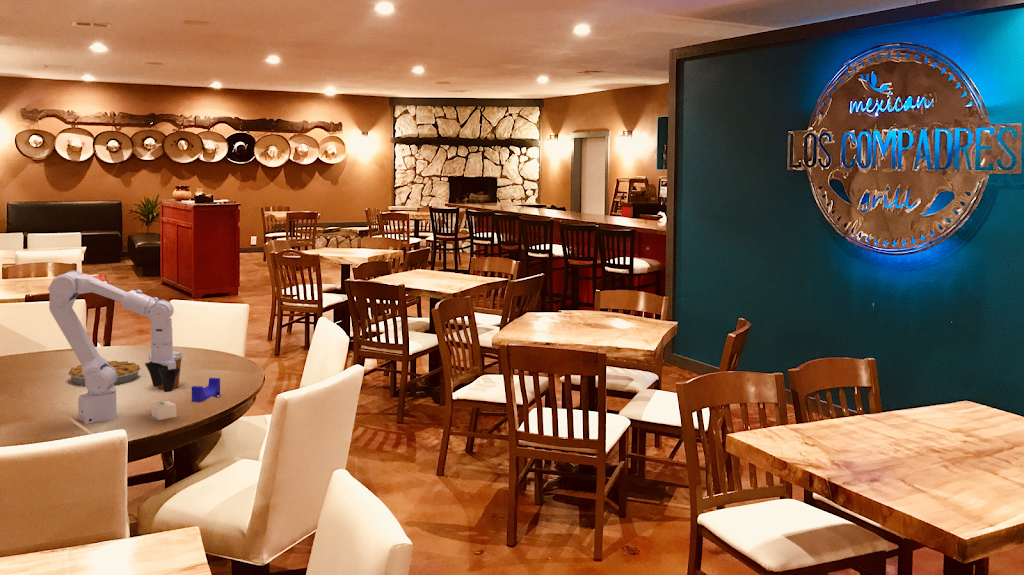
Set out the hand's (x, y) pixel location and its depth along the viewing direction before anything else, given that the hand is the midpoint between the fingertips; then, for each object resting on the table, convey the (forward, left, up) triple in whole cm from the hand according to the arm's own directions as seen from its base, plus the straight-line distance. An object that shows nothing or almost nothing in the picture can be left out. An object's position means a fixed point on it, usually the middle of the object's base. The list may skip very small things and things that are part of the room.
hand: (162, 388), depth 233 cm
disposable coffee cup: (+16, +34, -10) cm, 39 cm away
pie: (+4, +57, -10) cm, 58 cm away
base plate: (0, 0, -9) cm, 9 cm away
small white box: (0, 0, -8) cm, 8 cm away
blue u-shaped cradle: (+18, +12, -10) cm, 24 cm away
